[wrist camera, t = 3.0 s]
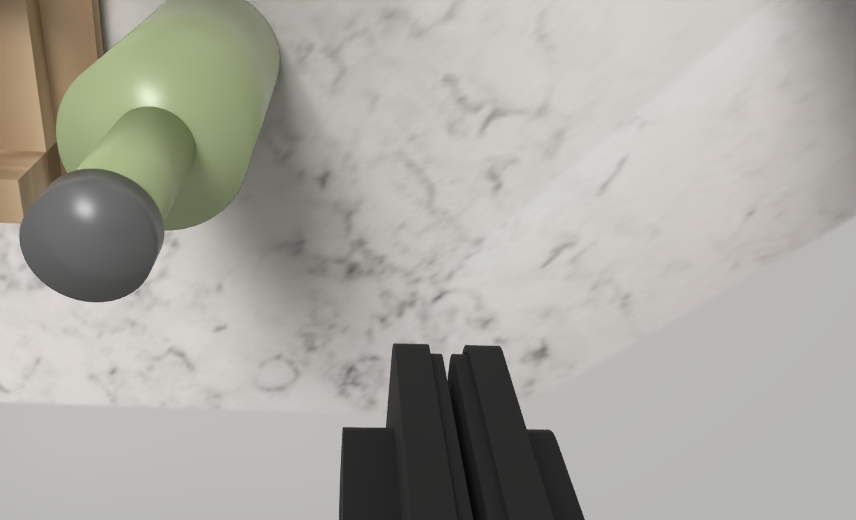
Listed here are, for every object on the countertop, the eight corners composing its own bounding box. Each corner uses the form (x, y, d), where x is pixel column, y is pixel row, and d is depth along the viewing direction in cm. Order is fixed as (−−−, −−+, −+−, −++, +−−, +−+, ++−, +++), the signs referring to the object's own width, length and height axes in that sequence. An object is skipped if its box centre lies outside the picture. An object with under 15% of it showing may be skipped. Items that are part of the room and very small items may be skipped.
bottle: (280, -7, 29) (209, 136, 15) (279, 124, 32) (218, 353, 18) (139, -18, 29) (-68, 120, 15) (149, 116, 31) (-23, 346, 17)
